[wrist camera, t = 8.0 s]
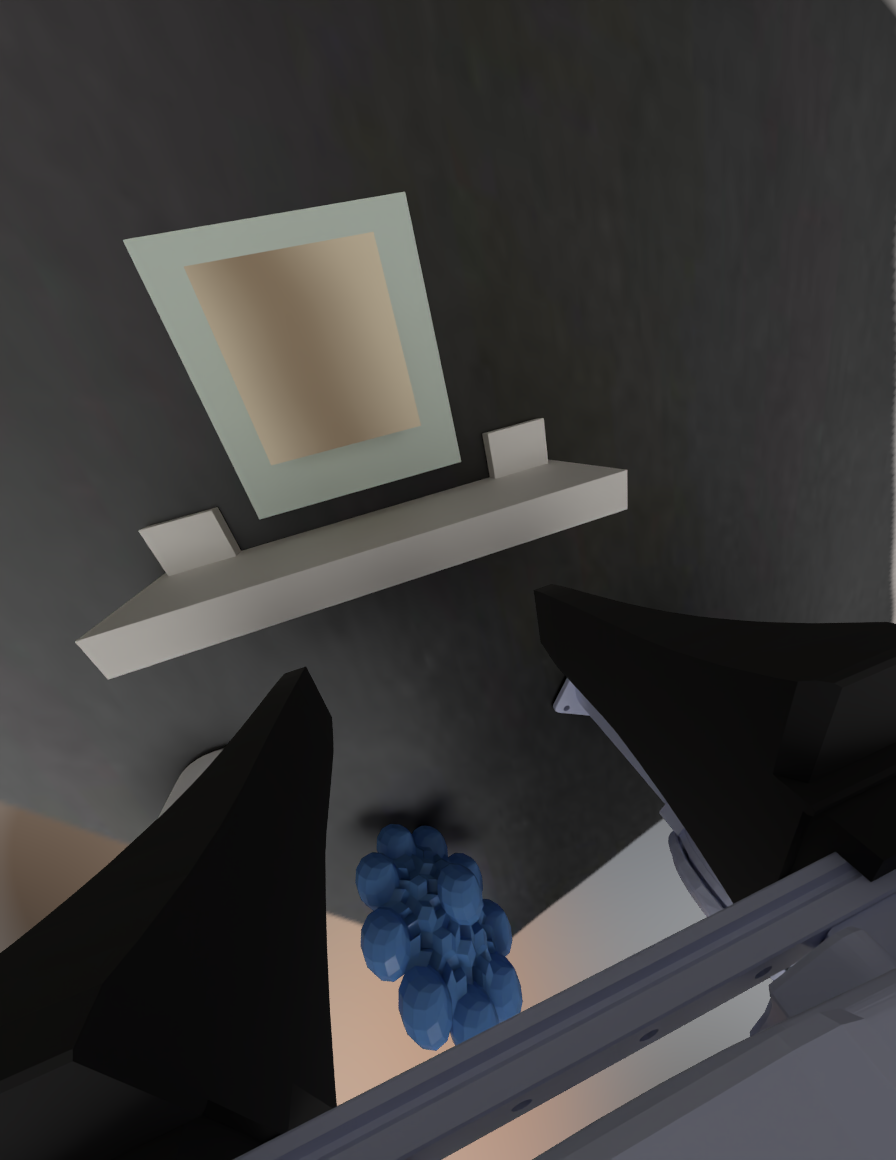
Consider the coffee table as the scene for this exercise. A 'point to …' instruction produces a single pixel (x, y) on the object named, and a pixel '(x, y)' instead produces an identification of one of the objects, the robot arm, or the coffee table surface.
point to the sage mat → (214, 382)
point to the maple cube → (310, 344)
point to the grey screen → (344, 553)
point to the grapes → (436, 937)
